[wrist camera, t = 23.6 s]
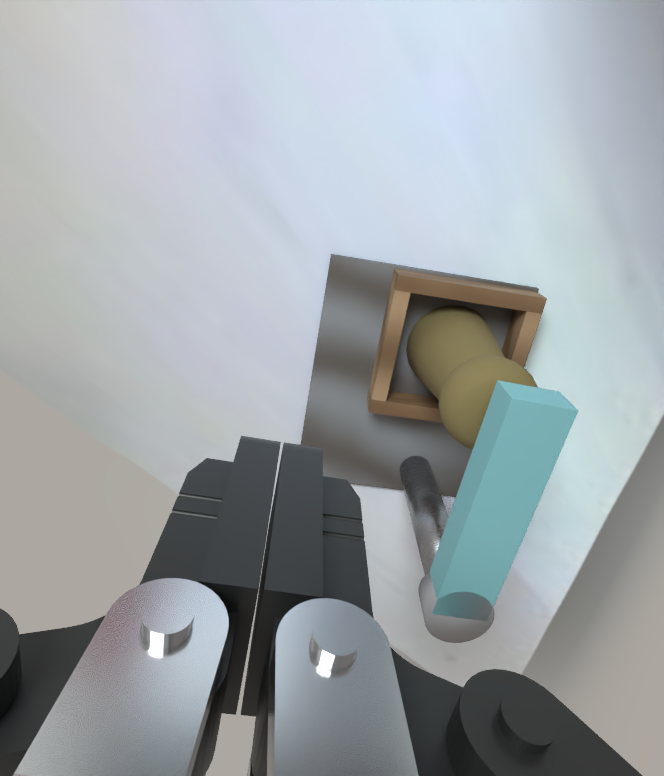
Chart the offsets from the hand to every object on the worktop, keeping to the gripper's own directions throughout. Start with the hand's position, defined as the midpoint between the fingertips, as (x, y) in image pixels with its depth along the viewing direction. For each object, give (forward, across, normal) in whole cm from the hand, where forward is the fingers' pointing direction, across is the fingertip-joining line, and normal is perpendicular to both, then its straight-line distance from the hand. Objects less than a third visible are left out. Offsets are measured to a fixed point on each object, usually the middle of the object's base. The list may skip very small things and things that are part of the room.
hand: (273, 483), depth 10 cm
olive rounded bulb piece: (+26, -11, +4) cm, 28 cm away
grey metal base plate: (+26, -9, +8) cm, 29 cm away
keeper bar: (+14, -11, +9) cm, 20 cm away
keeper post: (+26, -11, +14) cm, 32 cm away
